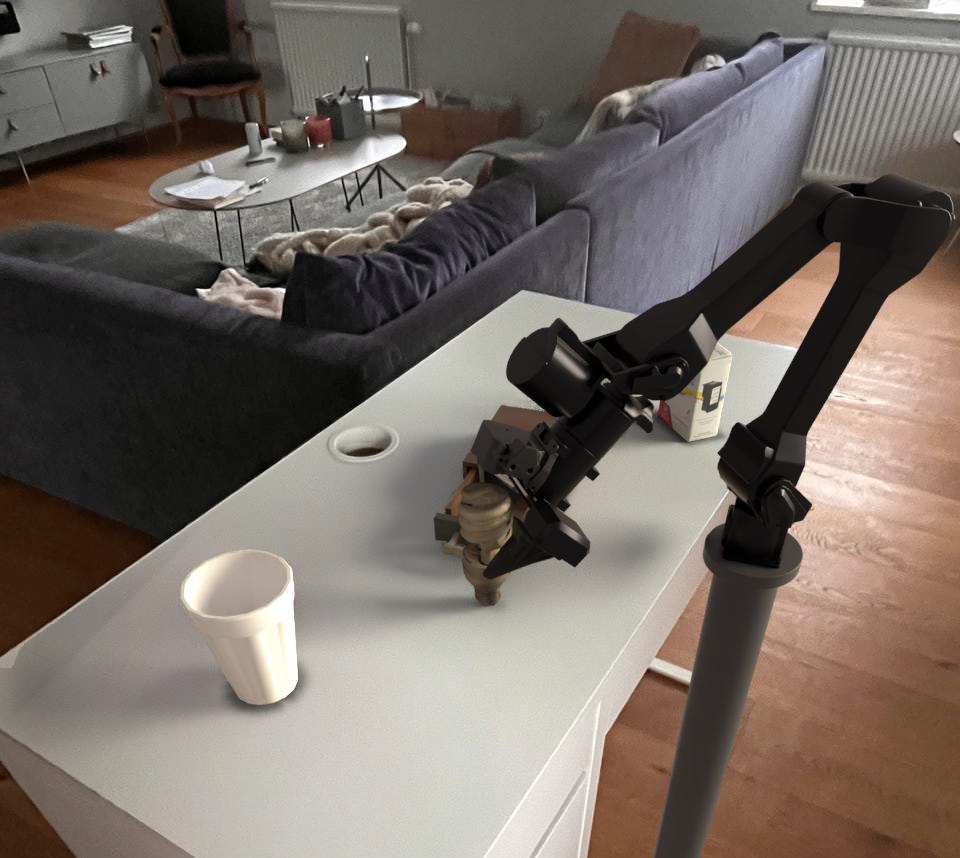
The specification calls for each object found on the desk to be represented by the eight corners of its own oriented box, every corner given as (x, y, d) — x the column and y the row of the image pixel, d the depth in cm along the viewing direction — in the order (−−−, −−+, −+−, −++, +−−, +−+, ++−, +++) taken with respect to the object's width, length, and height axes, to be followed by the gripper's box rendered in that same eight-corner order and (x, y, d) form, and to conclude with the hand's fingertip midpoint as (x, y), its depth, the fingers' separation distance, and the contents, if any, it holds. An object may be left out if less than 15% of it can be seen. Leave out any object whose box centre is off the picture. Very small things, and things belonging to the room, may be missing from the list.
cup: (207, 667, 83) (170, 566, 74) (303, 638, 86) (278, 537, 77) (226, 736, 77) (188, 634, 68) (329, 702, 79) (306, 599, 70)
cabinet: (555, 510, 102) (557, 476, 98) (463, 494, 105) (462, 461, 102) (586, 449, 112) (588, 417, 109) (501, 436, 115) (501, 404, 112)
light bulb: (521, 614, 88) (522, 495, 78) (474, 627, 87) (468, 509, 76) (501, 583, 92) (499, 466, 81) (455, 596, 90) (448, 478, 80)
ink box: (656, 415, 118) (666, 334, 110) (685, 408, 119) (698, 328, 111) (687, 443, 112) (701, 360, 104) (718, 435, 114) (734, 353, 105)
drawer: (514, 577, 91) (514, 554, 89) (422, 559, 94) (420, 536, 92) (558, 490, 103) (559, 468, 101) (476, 476, 106) (475, 455, 104)
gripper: (490, 352, 80) (392, 472, 85) (564, 444, 67) (443, 579, 72) (561, 412, 87) (467, 519, 92) (641, 505, 74) (526, 624, 79)
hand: (474, 555), depth 84 cm, fingers open, 7 cm apart
